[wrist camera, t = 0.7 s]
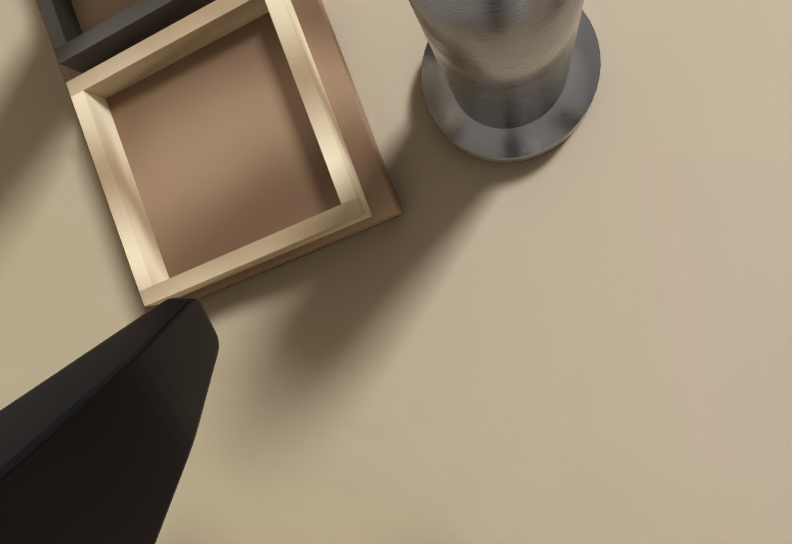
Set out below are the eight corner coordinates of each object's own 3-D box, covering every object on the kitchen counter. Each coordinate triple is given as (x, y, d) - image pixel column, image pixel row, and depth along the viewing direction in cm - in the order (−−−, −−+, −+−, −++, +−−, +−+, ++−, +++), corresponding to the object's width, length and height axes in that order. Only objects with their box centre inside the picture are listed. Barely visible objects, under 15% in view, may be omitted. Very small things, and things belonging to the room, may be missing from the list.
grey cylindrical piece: (521, 196, 21) (510, 110, 8) (394, 99, 21) (217, -107, 9) (634, 56, 20) (809, -274, 7) (496, -40, 21) (448, -472, 8)
